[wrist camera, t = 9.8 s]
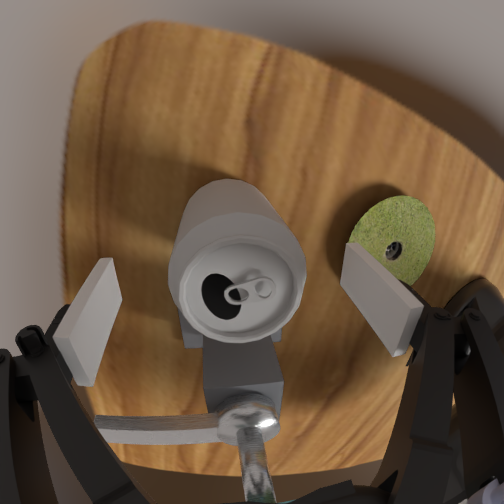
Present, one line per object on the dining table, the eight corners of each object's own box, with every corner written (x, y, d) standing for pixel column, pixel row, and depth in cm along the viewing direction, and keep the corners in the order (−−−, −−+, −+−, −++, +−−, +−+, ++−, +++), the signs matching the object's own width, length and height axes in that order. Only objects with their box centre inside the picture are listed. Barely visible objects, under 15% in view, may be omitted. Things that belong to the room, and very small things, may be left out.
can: (169, 195, 23) (135, 258, 12) (255, 164, 23) (297, 200, 12) (202, 271, 26) (201, 368, 15) (280, 243, 26) (327, 327, 15)
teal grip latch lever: (90, 401, 15) (65, 527, 7) (312, 381, 17) (365, 519, 8) (113, 430, 17) (100, 541, 8) (309, 413, 18) (348, 530, 10)
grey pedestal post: (282, 268, 27) (325, 359, 16) (278, 334, 31) (308, 425, 20) (174, 275, 26) (158, 373, 15) (185, 340, 29) (181, 437, 19)
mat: (314, 249, 27) (322, 257, 25) (394, 167, 24) (406, 171, 23) (372, 307, 31) (380, 317, 29) (437, 239, 29) (447, 246, 27)
